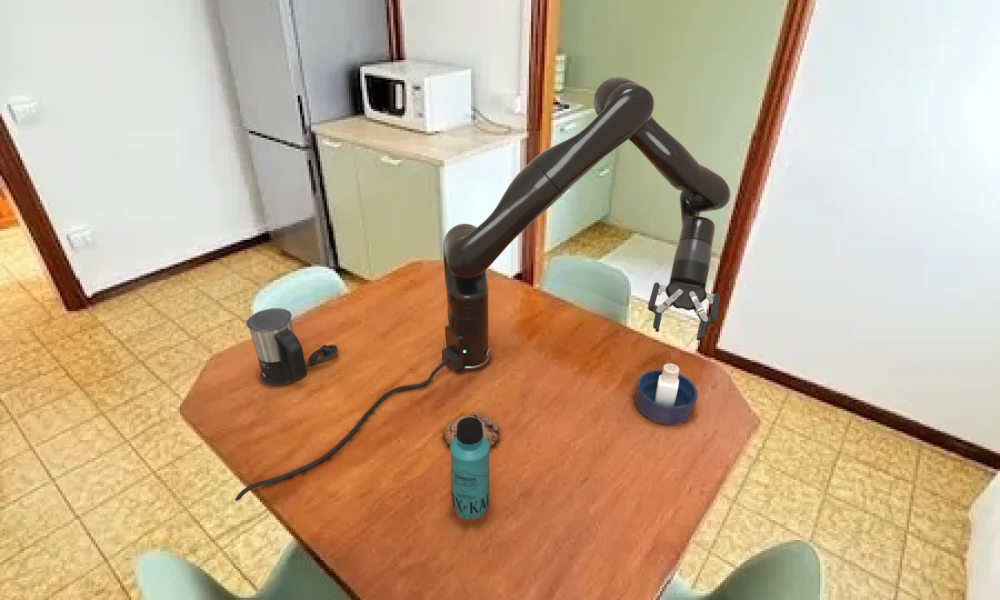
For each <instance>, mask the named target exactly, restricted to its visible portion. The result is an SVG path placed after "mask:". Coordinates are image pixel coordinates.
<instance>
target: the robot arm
mask: <svg viewBox="0 0 1000 600" xmlns="http://www.w3.org/2000/svg"><path fill="white" fill-rule="evenodd" d="M592 103H593V109H594V113H595V114H596V117H595V118H594V119H593V120H592V121H591V122H590V123H589V124H588V125H587V126H585V128H583V129H582V130H581V131H579V132H578V133H577V134H575V135H573V136H571V137H569V138H567V139H565V140H563V141H561V142H559V143H557V144H555V145H553V146H550V147H549V148H547V149H545V150H543V151H541V153H539V154H537V156H535V157H534V158H533V159H532V160H531V161H530V162H529V163H527V164H526V166H524V168H523V169H521V170H520V171H519V172H518V173H517V174H516V176H515V177H514V178H513V179H512V180H511V182H510V184H509V185H508V187H507V188H506V189H505V192H504V193H503V194H502V196H501V198H500V200H499V202H498V204H497V206H496V207H495V208H494V210H493V211H492V212H491V213H490V214H489V216H488V217H487V218H486V219H485V220H484V221H483V222H481V224H480V225H478V226H476V225H473V224H471V223H460V224H457V225H454V226H453V227H451V228H450V229H449V230H448V231H447V232H446V234H445V236H444V238H443V243H442V255H443V257H442V258H443V269H444V282H445V289H446V303H447V304H446V306H447V307H446V308H447V325H445V326H444V337H445V348H442V349H441V360H442V361H443V362H441V363H440V364H439V365H438V366H436V367H435V368H434V370H433V371H432V372H431V374H430V376H429V377H428V379H426V380H425V381H423V382H421V383H417V384H410V385H401V386H397V387H395V388H393V389H391V390H389V391H387V392H385V393H384V394H383V395H382V396H381V397H380V398H378V399H377V400H376V402H375V403H374V404H373V405H372V406H371V407H369V409H368V410H367V411H366V412H365V413H364V414H363V416H361V418H360V419H359V421H358V422H357V423H356V425H355V426H354V427H353V428H352V429H351V430H350V431H349V433H348V434H346V435H345V436H344V437H343V439H341V441H339V442H338V443H337V444H336V446H334V447H333V448H332V449H331V450H330V451H328V452H327V453H325V454H323V455H322V456H320V457H319V458H318V459H316V460H315V461H312V462H310V463H308V464H306V465H304V466H302V467H299V468H297V469H294V470H291V471H289V472H287V473H285V474H282V475H280V476H276V477H273V478H269V479H266V480H261V481H257V482H255V483H252V484H250V485H247V486H246V487H245V488H244V489H242V490H241V491H240V492H239V493H238V494H237V495H236V497H235V498H234V501H236V502H238V501H240V500H241V499H242V498H243V497H244V495H245V494H247V493H248V492H250V491H252V490H253V489H255V488H256V489H257V488H258V487H262V486H267V485H270V484H274V483H277V482H280V481H284V480H286V479H288V478H290V477H293V476H295V475H298V474H301V473H302V472H305V471H307V470H310V469H312V468H313V467H315V466H317V465H319V464H320V463H322V462H324V461H325V460H327V459H329V457H331V456H332V455H334V454H335V453H336V452H337V451H338V450H339V449H340V448H341V447H342V446H344V444H346V442H347V441H348V440H349V439H350V438H352V436H353V435H355V433H356V432H357V430H358V429H359V428H360V427H361V426H362V425H363V423H364V422H365V421H366V420H367V418H368V417H369V415H371V413H372V412H373V411H375V409H377V408H378V406H379V405H380V404H381V403H382V402H383V401H384V400H385V399H386V398H387V397H389V396H391V395H392V394H394V393H396V392H400V391H404V390H413V389H419V388H422V387H425V386H426V385H428V384H430V383H431V381H432V380H433V378H434V376H435V375H436V374H437V373H438V372H439V371H440V370H441V369H442V368H443V367H445V366H446V365H447V366H449V368H450V369H452V370H453V371H454V372H456V371H459V372H464V371H474V370H479V369H481V368H483V367H485V366H486V365H487V364H488V362H489V361H490V349H491V346H490V342H489V341H490V340H489V338H490V337H489V336H490V334H489V333H490V332H489V326H490V324H489V320H490V319H489V283H488V276H487V270H488V269H489V268H490V267H491V266H492V264H493V263H494V262H495V261H496V260H497V259H498V258H499V256H500V255H501V254H502V253H503V252H504V251H505V249H507V248H508V247H509V245H510V244H512V242H513V241H514V240H515V239H516V238H517V237H518V236H519V235H520V234H522V233H523V232H524V231H525V230H526V229H527V228H528V227H530V225H531V224H533V223H534V222H535V221H536V220H537V219H538V218H539V217H540V216H541V215H542V214H543V213H545V212H546V211H547V210H548V209H549V208H550V207H552V205H554V204H555V203H556V202H557V201H558V200H560V199H561V198H562V197H563V195H565V194H566V193H567V192H568V191H569V190H570V189H571V188H572V186H574V185H575V184H577V182H578V181H579V180H581V179H582V178H583V177H585V175H586V174H588V173H589V172H590V171H591V170H592V169H593V168H594V167H595V166H596V165H597V164H599V163H600V162H601V161H602V160H603V159H604V158H605V157H606V156H608V155H609V154H611V153H612V152H613V151H615V150H616V149H617V148H618V147H621V145H623V144H624V143H625V142H627V141H628V140H629V141H630V142H631V144H632V145H634V146H635V147H636V148H637V149H638V150H639V151H640V152H641V153H642V154H643V156H644V157H645V158H646V159H647V160H648V161H649V163H650V164H651V165H652V166H653V167H654V168H655V169H656V170H657V171H658V173H659V174H661V176H662V177H663V178H664V179H665V180H666V181H667V182H668V183H669V184H670V185H671V186H672V187H673V188H674V189H675V190H678V191H681V192H680V196H679V206H680V207H679V208H680V219H681V230H680V234H679V239H678V244H677V247H676V249H675V253H674V257H673V263H672V266H671V267H672V268H671V272H670V278H669V281H668V282H669V283H668V284H667V285H663V284H660V283H659V282H654V283H653V286H652V290H651V293H650V297H649V301H648V305H647V309H648V311H650V312H652V313H653V314H654V318H653V324H652V329H653V330H654V332H656V333H659V331H660V327H661V321H662V316H663V313H664V312H666V311H667V310H669V309H670V308H671V307H674V308H675V309H678V310H679V309H683V310H685V311H692V310H693V311H694V313H695V315H696V316H697V317H698V319H699V323H698V328H697V334H696V341H699V342H700V341H701V339H704V337H705V335H706V330H707V327H708V324H715V323H716V322H717V320H718V319H719V310H720V302H721V294H720V293H718V292H716V293H707V290H706V289H707V284H708V283H707V282H708V277H709V272H710V267H711V260H712V251H713V250H712V249H713V244H714V238H715V233H716V223H715V222H714V221H713V220H712V219H710V218H708V217H705V216H701V213H706V212H713V211H717V210H718V211H719V210H721V209H723V208H726V206H727V205H728V204H729V203H730V200H731V189H730V186H729V184H728V183H727V181H726V180H725V178H723V177H722V176H721V175H719V174H718V173H716V172H715V171H713V170H711V169H710V168H708V167H707V166H704V165H703V164H700V163H699V161H698V160H697V159H696V158H695V157H694V156H693V155H692V154H691V152H690V151H689V150H688V149H687V148H686V147H685V146H684V145H683V144H682V142H680V141H679V140H678V139H677V138H676V137H674V136H673V135H672V134H671V133H670V132H668V131H667V130H666V129H665V128H664V127H663V126H661V124H660V123H659V122H657V120H656V119H655V118H654V117H653V116H652V115H653V112H654V108H655V99H654V96H653V94H652V92H651V91H650V90H649V89H648V88H646V87H645V86H644V85H642V84H639V83H638V82H636V81H634V80H632V79H630V78H627V77H623V76H614V77H609V78H608V79H605V80H604V81H602V83H600V84H599V86H598V87H597V88H596V90H595V92H594V96H593V102H592ZM664 292H665V294H666V296H667V298H666V300H664V301H663V302H662V303H661V304H659V305H656V302H657V298H658V296H661V295H662V294H663V293H664ZM705 300H707V301H708V304H709V305H711V309H710V315H707V313H706V312H705V309H704V307H703V305H702V304H701V303H703V302H704V301H705Z"/></svg>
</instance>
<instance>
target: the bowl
mask: <svg viewBox="0 0 1000 600" xmlns="http://www.w3.org/2000/svg"><path fill="white" fill-rule="evenodd" d="M662 371H663V369H652V370H648V371H646V372H644V373H642V374H640V376H639V377H638V378H637V381H636V387H635V393H634V399H633V400H634V401H633V402H634V404H635V407H636V409H637V410H638V411H639V412H640V414H642V416H643V415H644V417H646V418H647V419H649V420H651V421H654V422H656V423H659V424H664V425H679V424H682V423H683V424H684V423H686V422H688V421H689V420H690V419H691V418H692V417H693V415H694V413H695V409H696V406H697V402H698V399H699V391H698V388H697V386H696V385H695V384H694V382H693V381H691V379H690V378H688V377H687V376H685V375H683V374H681V373H679V375H678V379H679V385H678V391H677V395H676V399H675V404H674V406H667V405H662V404H659V403H657V402H654V400H655V394H656V389H657V384H658V379H659V375H662Z"/></svg>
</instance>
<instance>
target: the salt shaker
mask: <svg viewBox="0 0 1000 600" xmlns="http://www.w3.org/2000/svg"><path fill="white" fill-rule="evenodd" d="M662 370H663V371H662V375H659V379H658V384H657V389H656V394H655V400H654V402H657V403H659V404H662V405H667V406H674V404H675V399H676V395H677V391H678V385H679V379H678V375H679V374H680V370H681V369H680V367H679V366H678V365H676V364H675V363H665V364H664V365H663V367H662Z"/></svg>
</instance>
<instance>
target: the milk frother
mask: <svg viewBox="0 0 1000 600" xmlns="http://www.w3.org/2000/svg"><path fill="white" fill-rule="evenodd" d="M292 316H293V314H292V312H291V311H290V310H288V309H285V308H281V307H272V308H271V307H270V308H267V309H263V310H259V311H257V312H255V313H253V314H252V315H250V317H248V319H247V320H246V322H245V323H246V324H245V325H246V327H247V328H248V330H249V333H250V336H251V340H252V343H253V347H254V351H255V353H256V356H257V360H258V362H259V366H260V371H261V379H262V381H263V382H265V383H266V384H268V385H273V386H280V385H281V386H282V385H286V384H288V383H292V382H293V381H300V380H303V378H306V377H307V375H308V372H307V369H308V368H311V367H315V366H317V365H320V364H321V363H324V362H326V361H329V360H330V359H332V358H333V357H334V356H336V354H337V353H338V352H339V348H338V346H337V345H336V344H328V345H327V344H323V345H322V346H319V347H318V349H317V350H315V351H314V352H312V353H311V354H310V355H309V358H308V362H309V363H308V364H306V361H305V356H304V350H303V346H302V343H301V342H300V339H299V338H298V336H297V335H296V333H295V329H294V326H293V322H292ZM320 353H321V355H322V356H323V357H320V358H316V357H317V356H318V355H319V354H320ZM315 358H316V359H315Z"/></svg>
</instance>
